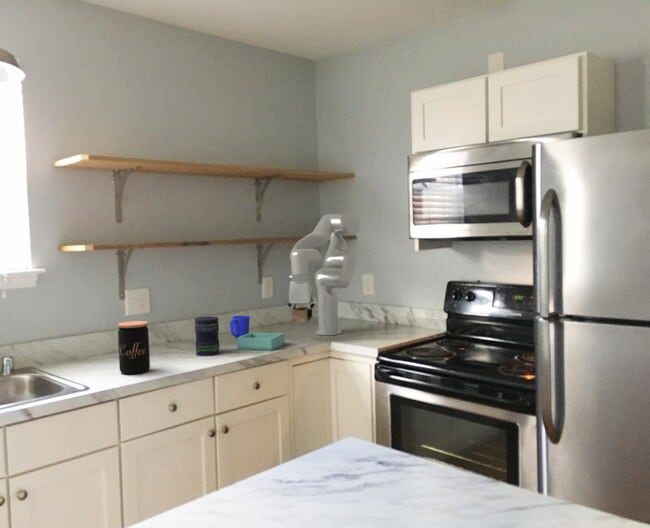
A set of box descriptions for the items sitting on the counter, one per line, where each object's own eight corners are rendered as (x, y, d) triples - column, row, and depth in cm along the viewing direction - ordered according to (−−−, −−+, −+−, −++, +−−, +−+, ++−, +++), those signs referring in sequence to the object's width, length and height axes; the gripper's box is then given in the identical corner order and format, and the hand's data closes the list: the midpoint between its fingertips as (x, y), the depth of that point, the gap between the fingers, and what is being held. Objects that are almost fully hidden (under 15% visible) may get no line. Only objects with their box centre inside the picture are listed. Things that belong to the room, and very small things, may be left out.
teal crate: (251, 343, 274) (251, 332, 273) (284, 344, 268) (284, 333, 268) (237, 349, 261) (236, 337, 260) (271, 350, 255) (271, 339, 255)
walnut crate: (299, 318, 278) (298, 307, 277) (312, 318, 275) (312, 307, 275) (291, 321, 269) (291, 310, 269) (305, 321, 267) (304, 310, 267)
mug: (224, 339, 285) (223, 318, 284) (239, 335, 295) (238, 315, 295) (238, 341, 281) (238, 319, 280) (253, 336, 292) (252, 315, 291)
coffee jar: (116, 375, 218) (113, 325, 217) (124, 369, 228) (122, 321, 227) (146, 374, 218) (144, 324, 217) (153, 367, 229) (151, 320, 228)
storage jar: (192, 353, 255) (191, 318, 254) (214, 350, 260) (213, 315, 259) (200, 357, 246) (198, 320, 245) (223, 354, 251) (222, 318, 250)
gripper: (279, 279, 270) (281, 319, 272) (315, 278, 264) (317, 319, 266) (285, 277, 277) (287, 316, 279) (321, 277, 271) (323, 316, 273)
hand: (302, 317), depth 272 cm, fingers closed on walnut crate, 6 cm apart
